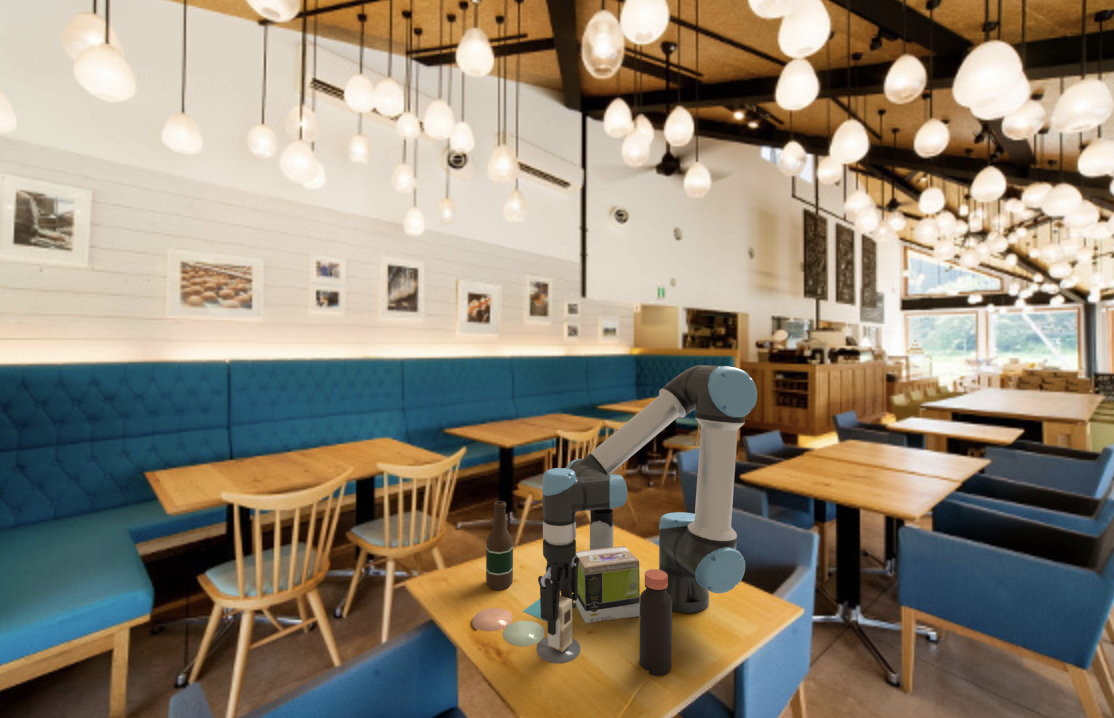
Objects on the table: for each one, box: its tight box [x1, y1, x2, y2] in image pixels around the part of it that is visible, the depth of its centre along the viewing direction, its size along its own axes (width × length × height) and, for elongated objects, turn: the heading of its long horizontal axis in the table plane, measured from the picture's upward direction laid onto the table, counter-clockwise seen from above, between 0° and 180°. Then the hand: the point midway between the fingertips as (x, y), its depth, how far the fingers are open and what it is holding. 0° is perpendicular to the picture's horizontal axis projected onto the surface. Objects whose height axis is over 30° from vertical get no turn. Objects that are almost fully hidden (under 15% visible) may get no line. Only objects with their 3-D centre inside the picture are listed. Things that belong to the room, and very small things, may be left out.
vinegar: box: [638, 568, 673, 677], centre depth 99 cm, size 7×7×20 cm
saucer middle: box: [502, 620, 546, 647], centre depth 110 cm, size 10×10×1 cm
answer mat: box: [522, 598, 574, 623], centre depth 120 cm, size 10×10×1 cm
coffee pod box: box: [574, 545, 641, 624], centre depth 121 cm, size 15×10×15 cm, turn 104°
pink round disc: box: [471, 607, 514, 632], centre depth 116 cm, size 10×10×1 cm
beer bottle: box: [485, 500, 514, 591], centre depth 134 cm, size 8×8×24 cm
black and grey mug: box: [589, 508, 614, 550], centre depth 157 cm, size 9×14×15 cm, turn 164°
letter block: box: [548, 594, 573, 652], centre depth 104 cm, size 4×4×10 cm
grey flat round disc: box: [535, 636, 581, 664], centre depth 104 cm, size 10×10×1 cm
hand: (560, 640), depth 104 cm, fingers closed on letter block, 4 cm apart
